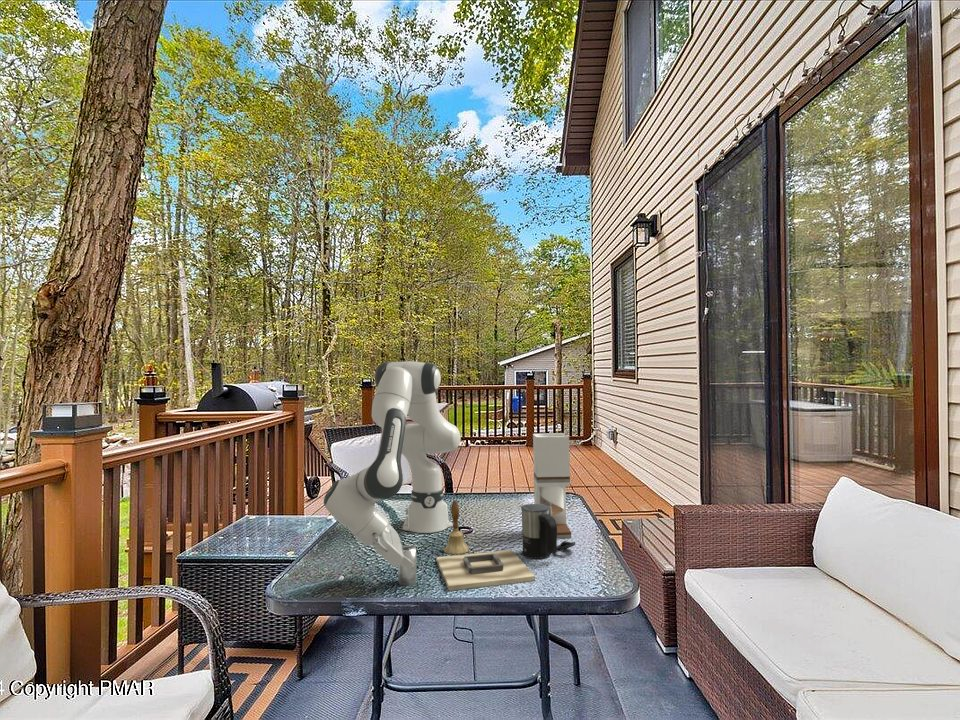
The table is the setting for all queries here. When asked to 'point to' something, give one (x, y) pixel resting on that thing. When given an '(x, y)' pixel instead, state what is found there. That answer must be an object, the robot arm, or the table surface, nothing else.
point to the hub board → (483, 569)
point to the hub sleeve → (404, 573)
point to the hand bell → (455, 535)
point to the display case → (552, 476)
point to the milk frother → (540, 532)
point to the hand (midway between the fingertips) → (409, 561)
